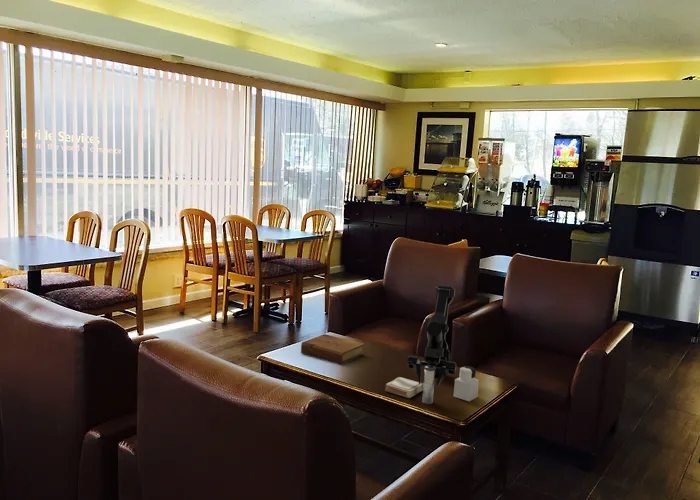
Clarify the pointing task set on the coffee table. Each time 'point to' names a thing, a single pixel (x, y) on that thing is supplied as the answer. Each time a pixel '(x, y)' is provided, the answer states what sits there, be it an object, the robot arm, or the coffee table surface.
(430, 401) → the steel flask
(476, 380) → the medicine bottle
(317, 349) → the diary
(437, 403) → the coffee table surface
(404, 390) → the cream napkin pack
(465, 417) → the coffee table surface
